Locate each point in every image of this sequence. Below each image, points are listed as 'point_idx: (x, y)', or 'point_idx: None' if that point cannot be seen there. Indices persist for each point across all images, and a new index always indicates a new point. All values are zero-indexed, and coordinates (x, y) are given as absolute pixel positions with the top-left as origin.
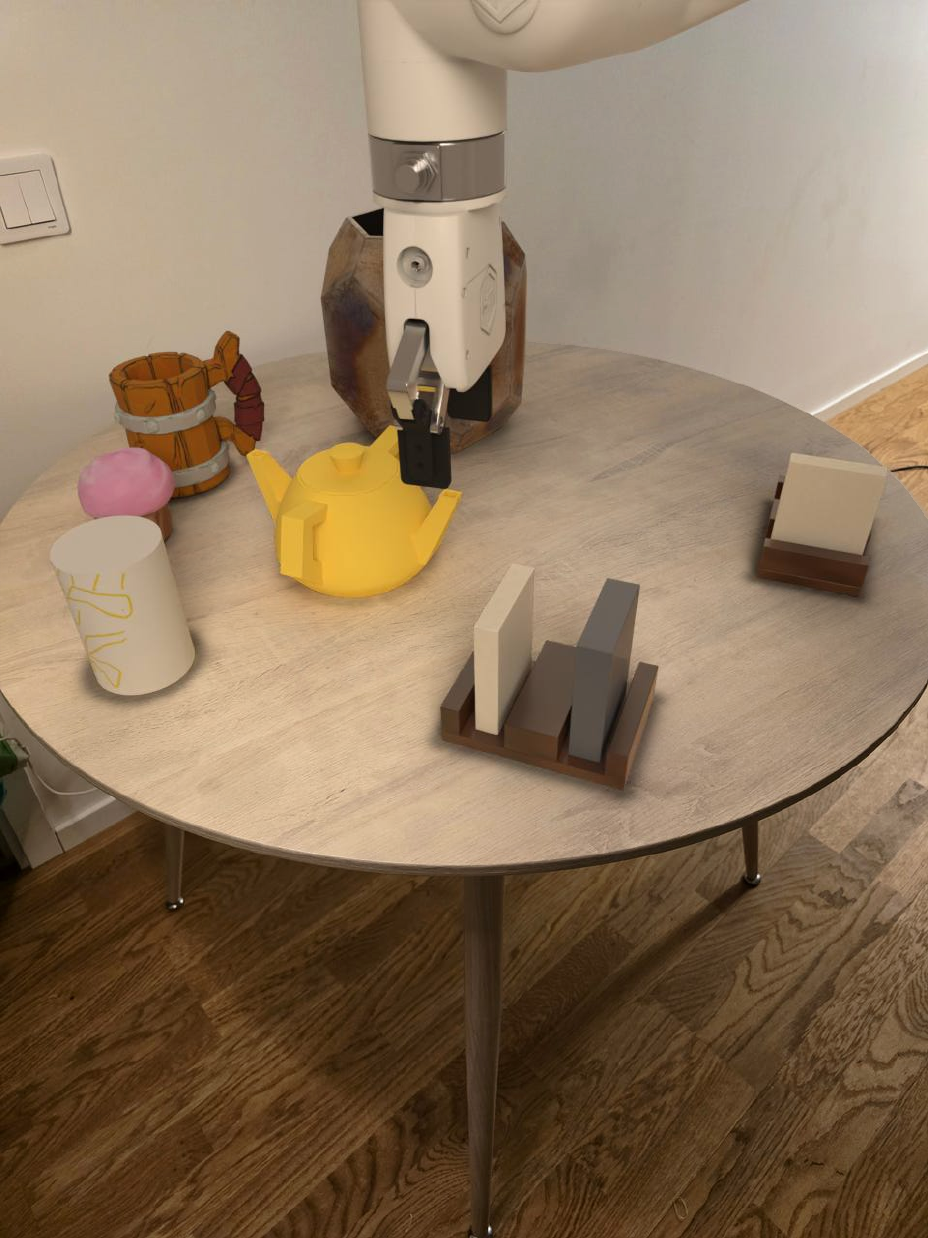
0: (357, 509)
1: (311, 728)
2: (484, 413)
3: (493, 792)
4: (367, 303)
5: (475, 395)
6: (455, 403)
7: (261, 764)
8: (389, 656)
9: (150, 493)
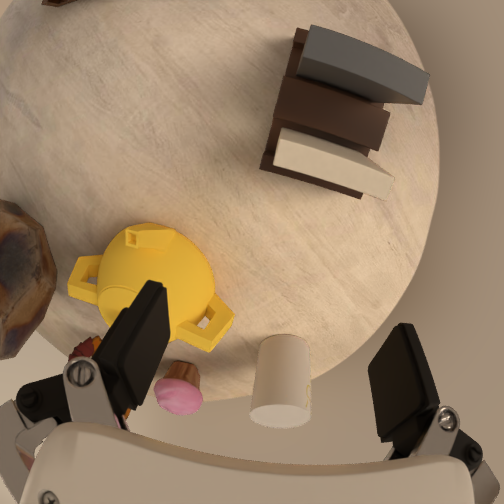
0: (173, 305)
1: (339, 268)
2: (161, 300)
3: (395, 153)
4: (4, 341)
5: (149, 337)
6: (161, 347)
7: (365, 286)
8: (267, 233)
9: (184, 391)
